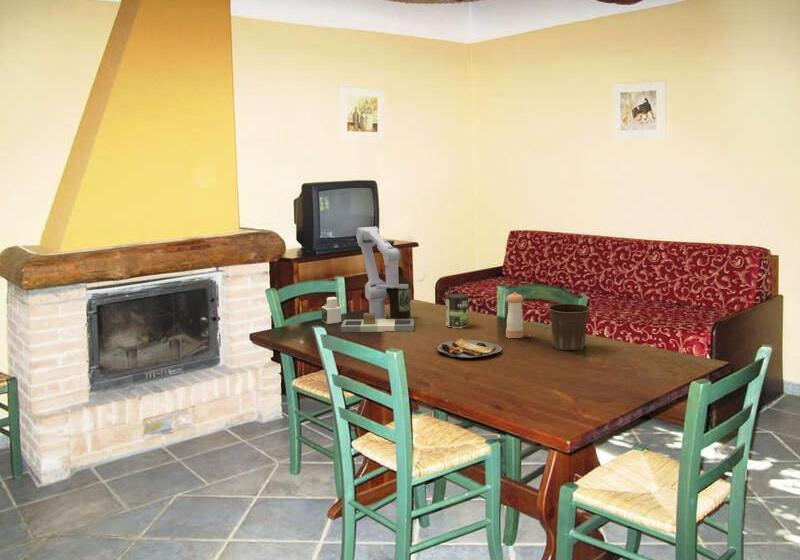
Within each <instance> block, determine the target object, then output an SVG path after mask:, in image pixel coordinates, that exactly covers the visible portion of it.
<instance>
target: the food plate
mask: <svg viewBox="0 0 800 560" xmlns="http://www.w3.org/2000/svg"><path fill="white" fill-rule="evenodd" d="M435 349H436V350H437V352H440V353H443V354H445V355H448V356H450V357H452V358H453V357H454V358H455V357H456V358H463V359H464V358H465V359H466V358H467V359H470V358H471V359H475V358H482V357H486V356H490V355H493V354H497V353H500V352H501V350H502V347H501V345H498V344H497V343H494V342H490V341H484V340H478V339H477V340H476V339H463V338H462V337H458V338H457V339H456V340H450V341H445V342H444V341H443V342H441V343H439V344H438V345H437V346H436V347H435Z"/></svg>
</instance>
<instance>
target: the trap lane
mask: <svg viewBox="0 0 800 560" xmlns="http://www.w3.org/2000/svg"><path fill="white" fill-rule="evenodd" d="M385 331H394V332H414V331H415V319H414V318H410V319H391V318H385V319H375V324H363V318H362V319H361V318H360V319H344V320H343V321H342V322H341V326H340V332H341V333H374V332H375V333H377V332H378V333H381V332H383V333H384V332H385Z"/></svg>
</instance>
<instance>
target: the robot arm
mask: <svg viewBox="0 0 800 560" xmlns="http://www.w3.org/2000/svg"><path fill="white" fill-rule="evenodd" d="M355 233H356V234H355V237H356V240H357V241H356V242H357V245H358V247H360V249H361V253H362V258H363V261H364V265H365V270H366V274H367V278H368V281H367V282H366V284H365V285H364V294H365V295H364V296H365V298H366V299H367V301H368V304H369V305H368V307H369V312H368V313H375V319H387V314H386V313H385V312H386V311H385V308H386V307H385V300H387V298H388V299H389V298H390V301H391V305H394V302H395V298H396V295H397V292H398V289H408V284H399V281H398V266H399V261H400V260H401V251H400V249H399V248H398V247H394V246H393V245H391V243H390V242H389V241H388V240H387V239H383V237H382V236H381V235H380V230H379V227H377V226H376V225H374V226H365V227H361V226H360V227H358V228H357V229H356V232H355ZM375 246H377V247H376V248H377V250H378V251H379V252H380V253H381V254H382V258H383V261H384V263H383V264H384V266H385V281H384V280H383V279H381V278H380V277H379V271H378V269H377V264H376V260H375V259H376V258H375V255H374V251H373V250H374V249H373V247H375ZM395 287H396V288H395ZM392 289H393V300H392Z"/></svg>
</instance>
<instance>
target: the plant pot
mask: <svg viewBox="0 0 800 560" xmlns="http://www.w3.org/2000/svg"><path fill="white" fill-rule="evenodd" d="M547 310H549V318H550V323H551V324H550V325H551V335H552V347H553V346H554V347H553V348H554V349H556V350H559V349H561V350H560V351H563V350H572V351H575V350H577V351H580V350H579V349H581V350H583V349H584V348H585V345H586V344H585V343H586V342H585V341H586V334H587V326H588V319H589V314H590V311H591V307H589V306H587V305H584V304H578V303H577V304H576V303H557V304H552V305H549V306H548V307H547ZM582 348H583V349H582Z"/></svg>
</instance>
